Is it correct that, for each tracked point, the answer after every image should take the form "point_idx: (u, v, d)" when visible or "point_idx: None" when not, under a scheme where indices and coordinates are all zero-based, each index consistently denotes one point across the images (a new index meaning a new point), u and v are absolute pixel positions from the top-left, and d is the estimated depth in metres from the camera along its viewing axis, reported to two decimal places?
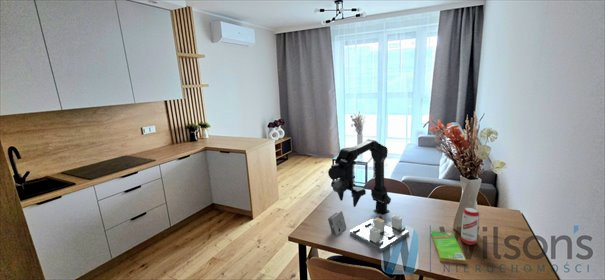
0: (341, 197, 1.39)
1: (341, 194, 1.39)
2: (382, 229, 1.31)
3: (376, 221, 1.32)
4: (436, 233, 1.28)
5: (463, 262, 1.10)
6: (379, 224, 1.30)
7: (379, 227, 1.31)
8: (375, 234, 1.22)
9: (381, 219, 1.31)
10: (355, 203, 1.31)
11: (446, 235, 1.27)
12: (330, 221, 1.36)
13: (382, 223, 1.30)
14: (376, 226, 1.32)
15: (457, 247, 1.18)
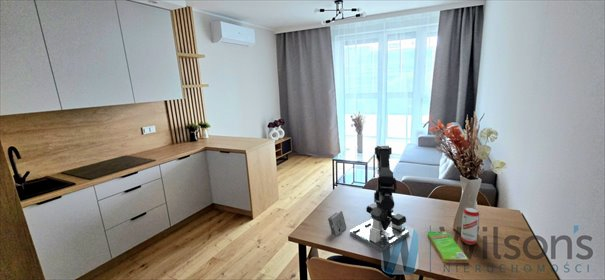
0: None
1: None
2: (380, 228, 1.32)
3: (374, 220, 1.33)
4: (432, 234, 1.28)
5: (466, 261, 1.11)
6: (377, 223, 1.31)
7: (377, 226, 1.32)
8: (375, 234, 1.22)
9: None
10: (386, 227, 1.29)
11: (442, 235, 1.27)
12: (330, 221, 1.36)
13: (380, 222, 1.31)
14: (374, 225, 1.33)
15: (456, 246, 1.18)
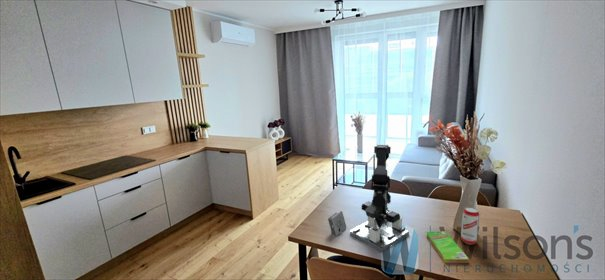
0: None
1: None
2: (375, 226, 1.34)
3: (369, 218, 1.35)
4: (431, 234, 1.28)
5: (466, 261, 1.11)
6: (372, 221, 1.34)
7: (372, 224, 1.34)
8: (375, 234, 1.22)
9: None
10: (381, 224, 1.31)
11: (441, 234, 1.27)
12: (330, 221, 1.36)
13: (375, 220, 1.33)
14: (369, 223, 1.35)
15: (456, 246, 1.19)
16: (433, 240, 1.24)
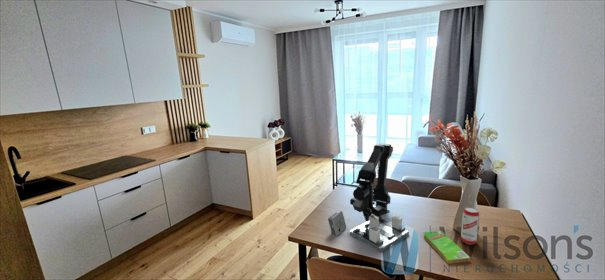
0: None
1: None
2: (376, 226, 1.34)
3: (371, 218, 1.34)
4: (429, 234, 1.28)
5: (468, 260, 1.11)
6: (374, 221, 1.33)
7: (374, 224, 1.33)
8: (375, 234, 1.22)
9: None
10: (368, 218, 1.37)
11: (438, 234, 1.28)
12: (330, 221, 1.36)
13: (376, 220, 1.33)
14: (371, 223, 1.35)
15: (455, 245, 1.19)
16: (432, 241, 1.23)
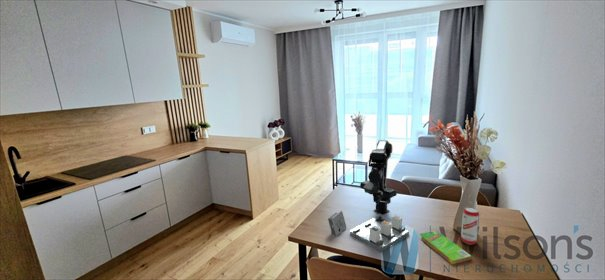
0: None
1: None
2: (389, 233, 1.28)
3: (383, 224, 1.29)
4: (426, 235, 1.27)
5: (469, 258, 1.12)
6: (386, 227, 1.27)
7: (386, 230, 1.28)
8: (375, 234, 1.22)
9: (388, 222, 1.28)
10: (378, 201, 1.38)
11: (435, 234, 1.28)
12: (330, 221, 1.36)
13: (389, 226, 1.27)
14: (383, 229, 1.29)
15: (453, 244, 1.20)
16: (431, 242, 1.22)
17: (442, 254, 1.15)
